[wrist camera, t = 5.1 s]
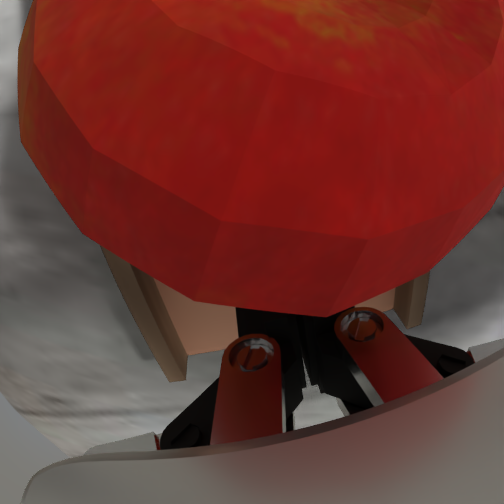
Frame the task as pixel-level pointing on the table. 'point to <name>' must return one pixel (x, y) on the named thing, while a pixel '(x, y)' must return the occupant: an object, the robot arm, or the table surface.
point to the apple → (268, 138)
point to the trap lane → (217, 315)
